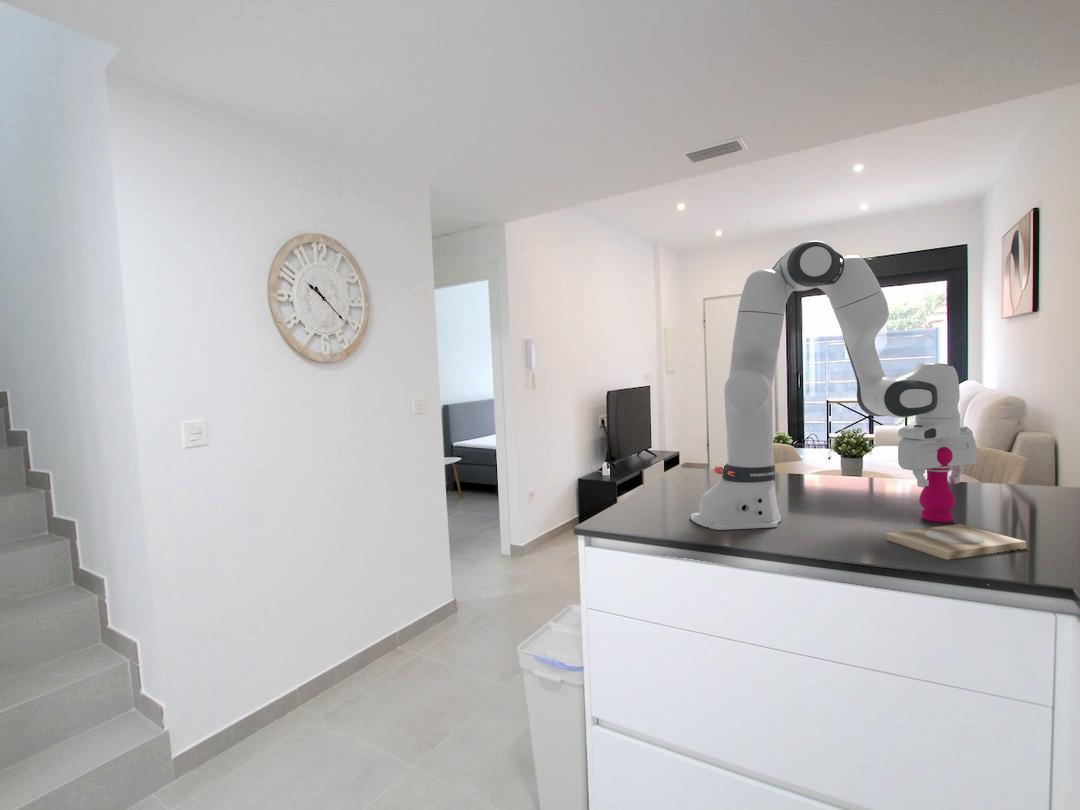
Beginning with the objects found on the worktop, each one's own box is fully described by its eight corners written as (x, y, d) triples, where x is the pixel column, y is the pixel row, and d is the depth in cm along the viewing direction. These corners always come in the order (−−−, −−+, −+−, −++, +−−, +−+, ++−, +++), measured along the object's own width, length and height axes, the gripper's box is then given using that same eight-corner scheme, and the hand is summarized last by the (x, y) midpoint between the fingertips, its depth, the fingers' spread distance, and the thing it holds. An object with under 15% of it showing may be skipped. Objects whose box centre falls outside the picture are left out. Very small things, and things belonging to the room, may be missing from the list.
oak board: (946, 559, 107) (946, 551, 107) (886, 539, 121) (886, 532, 121) (1026, 548, 111) (1026, 540, 111) (959, 530, 125) (959, 523, 125)
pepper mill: (961, 523, 130) (962, 440, 129) (927, 522, 132) (928, 440, 131) (945, 515, 138) (946, 436, 137) (913, 515, 139) (914, 437, 138)
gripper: (959, 424, 139) (960, 478, 140) (892, 431, 134) (893, 486, 135) (984, 426, 133) (985, 483, 133) (915, 433, 128) (916, 491, 129)
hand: (938, 485), depth 134 cm, fingers open, 8 cm apart
